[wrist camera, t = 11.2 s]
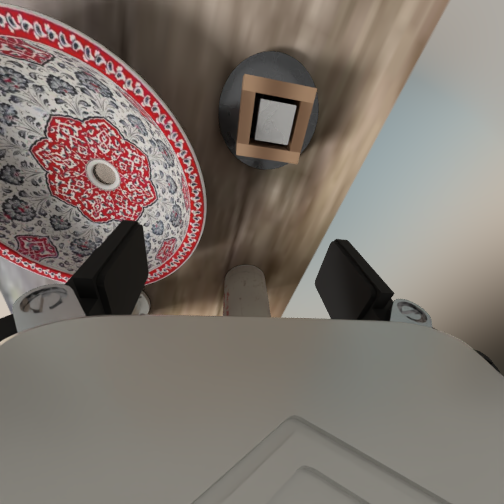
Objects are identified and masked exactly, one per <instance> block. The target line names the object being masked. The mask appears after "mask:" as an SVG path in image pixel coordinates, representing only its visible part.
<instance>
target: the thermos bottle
mask: <svg viewBox="0 0 504 504" xmlns="http://www.w3.org/2000/svg"><path fill="white" fill-rule="evenodd" d="M223 316H234V317H271V315H270V309H269V301H268V295H267V288H266V282H265V277H264V274H263V272H262V271H261V270H260V269H259V268H257V267H255V266H252V265H239V266H236V267H234V268H232V269H231V270H230V271H229V272H228V273H227V274H226V276H225V286H224V306H223Z"/></svg>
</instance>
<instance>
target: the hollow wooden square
mask: <svg viewBox="0 0 504 504" xmlns="http://www.w3.org/2000/svg"><path fill="white" fill-rule="evenodd" d="M316 92H317V88H313V87H308V86H303V85H298V84H293V83H288V82H283V81H278V80H273V79H268V78H263V77H258V76H254V75H249V74H244V76H243V82H242V91H241V101H240V111H239V120H238V130H237V140H236V155H240V156H247V157H253V158H260V159H267V160H273V161H280V162H287V163H294V164H298V160H299V156H300V153H301V149H302V145H303V141H304V137H305V134H306V130H307V126H308V122H309V118H310V115H311V111H312V107H313V103H314V99H315V96H316ZM255 93H260V94H266V95H271V96H276V97H281V98H286V99H291V103H290V104H292V105H296V111H295V115H294V119H293V124H292V128H291V132H290V137H289V141H288V145H284V144H278V143H272V142H266V141H260V140H255V139H254V138H251V137H250V131H251V123H252V116H253V108H254V101H255Z"/></svg>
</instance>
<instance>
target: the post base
mask: <svg viewBox="0 0 504 504" xmlns="http://www.w3.org/2000/svg"><path fill="white" fill-rule="evenodd" d="M244 74H249V75H254V76H258V77H263V78H268V79H273V80H278V81H283V82H288V83H293V84H298V85H303V86H308V87H313V88H316V87H315V85H314V82H313V80H312V78H311V76H310V74H309V73H308V71H307V70H306V69H305V67H304V66H303V65H302V64H301V63H300V62H298V61H297V60H296V59H294V58H293V57H291V56H289V55H287V54H284V53H281V52H274V51H270V52H262V53H258V54H255V55H253V56H250V57H249V58H247V59H246V60H244V61H243V62H242V63H240V64H239V65H238V66H237V67H236V68H235V69H234V71H233V72H232V73H231V75H230V76H229V78H228V79H227V81H226V83H225V85H224V88H223V90H222V93H221V97H220V102H219V125H220V129H221V133H222V136H223V139H224V141H225V143H226V145H227V146H228V148H229V149H230V151H231V152H232V153H233V154H234V156H236V157H237V158H238V159H239V160H240V161H242V162H243V163H245V164H247V165H248V166H251V167H254V168H258V169H274V168H279V167H282V166H284V165H286V164H288V163H287V162H280V161H273V160H267V159H260V158H253V157H247V156H240V155H236V140H237V130H238V120H239V111H240V101H241V91H242V82H243V76H244ZM290 103H291V99H286V98H281V97H276V96H271V95H266V94H260V93H255V101H254V108H253V116H252V123H251V131H250V137H251V138H254V139H255V140H260V141H266V142H272V143H278V144H284V145H288V141H289V137H290V132H291V128H292V124H293V119H294V115H295V111H296V105H292V104H290ZM317 120H318V96H317V92H316V96H315V99H314V103H313V107H312V111H311V115H310V118H309V122H308V126H307V130H306V134H305V137H304V141H303V145H302V149H301V153H302V152H303V150H304V149H305V148H306V147H307V145H308V143H309V142H310V140H311V138H312V136H313V134H314V131H315V128H316V124H317ZM301 153H300V154H301Z"/></svg>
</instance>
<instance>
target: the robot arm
mask: <svg viewBox="0 0 504 504" xmlns="http://www.w3.org/2000/svg"><path fill="white" fill-rule="evenodd" d="M148 274H149V270H148V262H147V254H146V246H145V239H144V231H143V226H142V225H140V224H139V223H138V222H137V221H130V220H122V221H121V222H120V224H119V225H118V226H117V227H116V228H115V229H114V230H113V232H112V233H111V234H110V235H109V236H108V237H107V238H106V240H105V241H104V242H103V243H102V244H101V245H100V246H99V247H98V248H97V249H96V250H95V251H94V252H93V253H92V254H91V255H90V256H89V257H88V259H87V260H86V261H85V262H84V263H83V264H82V265H81V267H80V268H79V269H78V270H77V271H76V272H75V273H74V274H73V276H72V277H71V278H70V279H69V280H68V281H67V282H66V283H65V284H48V285H44V286H40V287H37V288H35V289H32V290H30V291H28V292H26V293H25V294H23V295H22V296H20V297H19V298H18V299H17V300H16V301H15V303H14V304H13V309H12V311H13V314H11V315H9V316H6V317H4V318H1V319H0V504H504V377H503V376H502V375H501V374H500V371H499V370H498V368H497V367H496V366H495V365H494V364H493V362H492V361H491V360H490V359H489V358H488V357H487V356H486V355H484V354H483V353H481V352H479V351H477V350H474V349H473V348H471V347H470V346H469V345H467V344H466V343H465V342H463V341H462V340H460V339H458V338H456V337H453V336H452V335H449V334H447V333H445V332H442V331H439V330H437V329H435V328H433V327H432V321H431V317H430V316H429V314H428V313H427V312H426V311H425V310H424V309H423V308H421V307H420V306H418V305H416V304H415V303H413V302H411V301H408V300H405V299H396V300H394V302H393V301H392V299H391V297H392V296H393V294H394V292H393V291H392V290H391V289H390V288H389V287H388V286H387V284H386V283H385V282H384V281H383V280H382V279H381V278H380V277H379V275H378V274H377V273H376V272H375V271H374V270H373V269H372V267H371V266H370V265H369V264H368V263H367V262H366V261H365V259H364V258H363V257H362V256H361V255H360V254H359V253H358V251H357V250H356V249H355V248H354V247H353V246H352V245H351V244H350V242H349V241H347V240H340V239H336V240H335V241H334V242H331V244H330V246H329V248H328V251H327V253H326V256H325V258H324V261H323V263H322V265H321V268H320V270H319V273H318V275H317V278H316V280H315V286H316V288H317V291H318V293H319V294H320V297H321V298H322V301H323V303H324V305H325V307H326V309H327V311H328V313H329V315H330V317H331V319H311V318H274V317H234V316H188V315H147V314H148V312H149V310H150V300H149V298H148V296H147V295H146V294H145V293H144V292H143V291H142V290H143V287H144V285H145V283H146V281H147V278H148Z"/></svg>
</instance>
